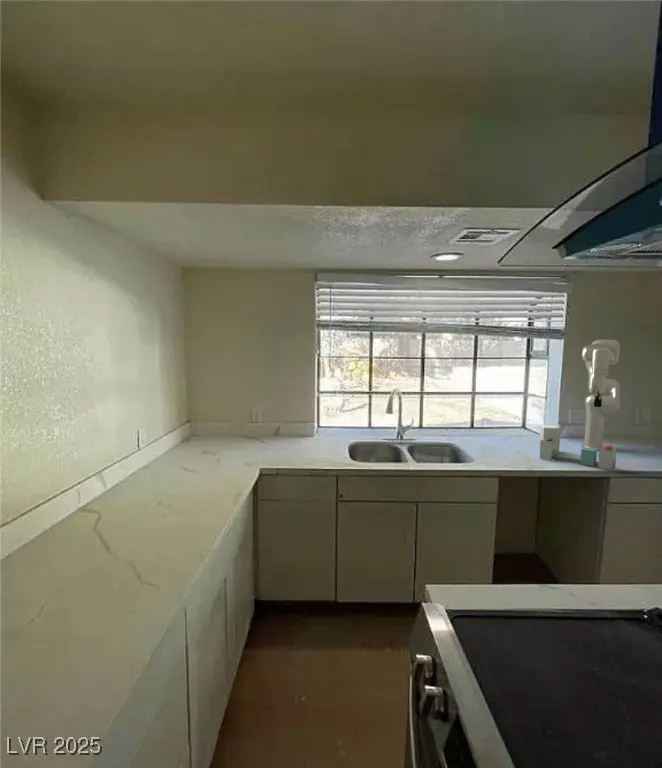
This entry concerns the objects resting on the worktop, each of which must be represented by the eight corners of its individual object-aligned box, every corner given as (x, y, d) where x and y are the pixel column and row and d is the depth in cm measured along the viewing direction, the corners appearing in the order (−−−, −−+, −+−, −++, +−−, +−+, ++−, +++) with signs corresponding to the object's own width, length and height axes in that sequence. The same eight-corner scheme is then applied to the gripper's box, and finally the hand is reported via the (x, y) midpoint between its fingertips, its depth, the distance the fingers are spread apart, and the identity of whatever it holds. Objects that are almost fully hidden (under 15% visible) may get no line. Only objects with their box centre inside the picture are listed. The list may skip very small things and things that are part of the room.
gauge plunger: (604, 453, 239) (604, 444, 238) (613, 454, 236) (613, 445, 236) (602, 454, 236) (602, 445, 235) (611, 456, 233) (611, 447, 233)
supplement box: (559, 454, 264) (560, 428, 262) (542, 453, 265) (543, 427, 264) (555, 450, 272) (556, 425, 271) (538, 449, 274) (539, 424, 273)
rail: (554, 458, 255) (554, 454, 255) (600, 466, 240) (601, 462, 240) (552, 459, 253) (552, 455, 253) (599, 467, 238) (599, 463, 237)
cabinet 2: (602, 465, 242) (603, 446, 241) (615, 467, 238) (616, 448, 237) (598, 468, 236) (599, 449, 235) (611, 470, 232) (612, 451, 231)
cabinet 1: (544, 455, 261) (545, 436, 260) (556, 457, 257) (557, 438, 256) (539, 458, 255) (540, 439, 254) (551, 460, 251) (552, 441, 250)
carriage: (583, 462, 246) (584, 447, 245) (595, 464, 242) (596, 449, 241) (580, 463, 243) (581, 449, 242) (593, 466, 239) (594, 451, 238)
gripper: (595, 371, 254) (593, 404, 256) (587, 372, 243) (585, 407, 245) (611, 371, 249) (609, 405, 251) (604, 373, 238) (601, 409, 240)
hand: (597, 406), depth 248 cm, fingers closed
